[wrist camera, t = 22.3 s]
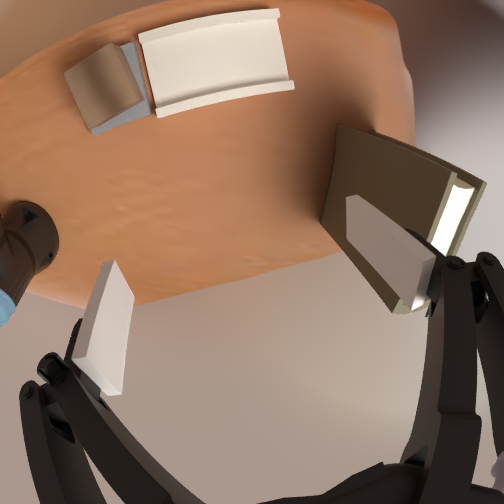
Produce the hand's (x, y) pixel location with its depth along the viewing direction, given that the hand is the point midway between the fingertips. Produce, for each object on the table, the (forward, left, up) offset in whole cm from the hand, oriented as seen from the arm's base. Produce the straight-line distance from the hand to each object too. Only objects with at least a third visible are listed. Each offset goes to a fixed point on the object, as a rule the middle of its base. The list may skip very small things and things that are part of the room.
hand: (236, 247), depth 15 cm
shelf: (+5, +14, -35) cm, 38 cm away
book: (+26, -13, -35) cm, 45 cm away
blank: (-12, +14, -32) cm, 37 cm away
